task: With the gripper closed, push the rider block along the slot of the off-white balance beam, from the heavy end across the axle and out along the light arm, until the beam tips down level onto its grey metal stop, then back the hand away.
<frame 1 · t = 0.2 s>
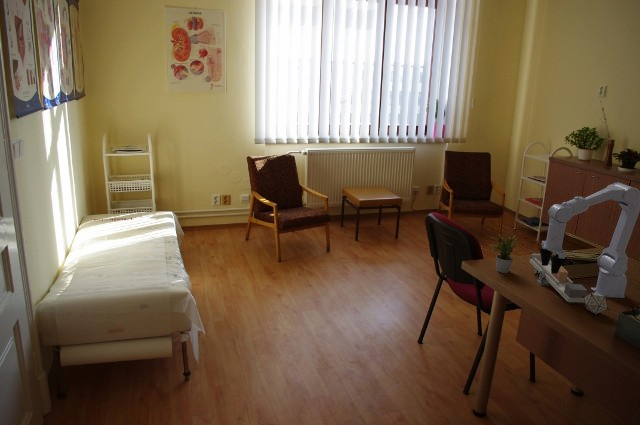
hand: (549, 269, 191), 10 cm above the table, tool pointing down, fingers open, 7 cm apart
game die: (593, 313, 179), on the table
rider: (558, 278, 198), point 4 cm above the table, tilted 5°, touching beam
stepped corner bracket: (551, 283, 203), on the table
beam: (556, 275, 199), point 5 cm above the table, hinge at -5.0°, touching rider
house plant: (502, 270, 215), on the table
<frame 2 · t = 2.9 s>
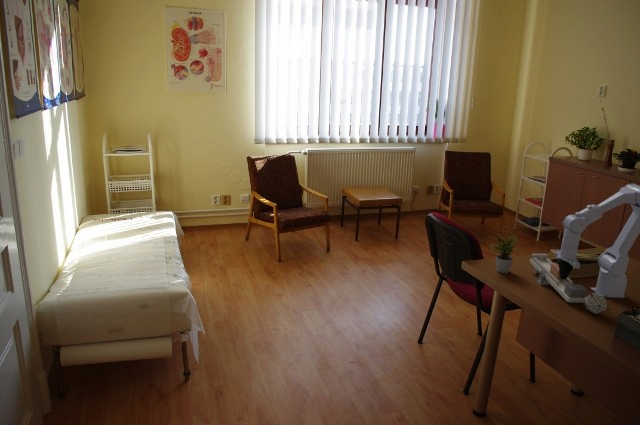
hand: (563, 278, 194), 6 cm above the table, tool pointing down, fingers closed
rider: (556, 277, 199), point 4 cm above the table, touching gripper
beam: (556, 275, 199), point 5 cm above the table, hinge at -5.0°
everything else where it was.
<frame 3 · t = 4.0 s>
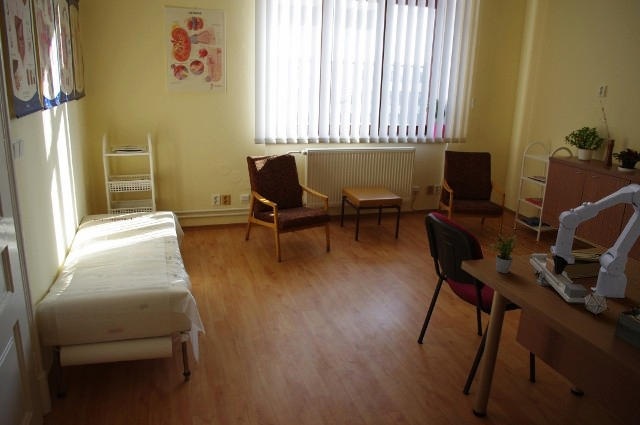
hand: (558, 273, 198), 6 cm above the table, tool pointing down, fingers closed
rider: (551, 272, 202), point 4 cm above the table, tilted 5°, touching gripper
everything else where it was.
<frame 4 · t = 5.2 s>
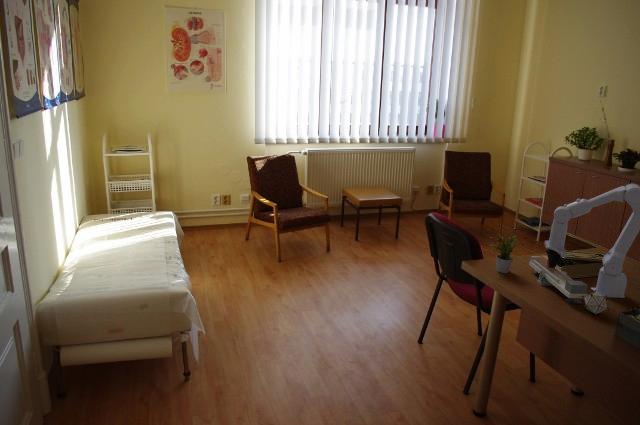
hand: (551, 267, 203), 6 cm above the table, tool pointing down, fingers closed
rider: (546, 268, 207), point 4 cm above the table, touching beam, gripper
beam: (556, 274, 199), point 5 cm above the table, hinge at 0.2°, touching rider
everything else where it was.
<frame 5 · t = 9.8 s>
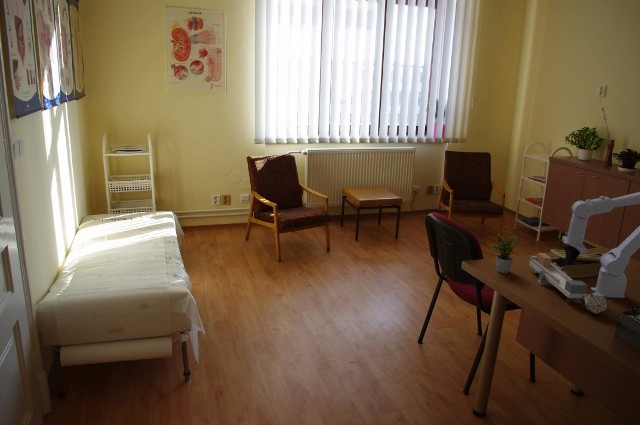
hand: (569, 264, 196), 10 cm above the table, tool pointing down, fingers closed
rider: (542, 265, 210), point 4 cm above the table, touching beam
everything else where it was.
at the end: beam at +0° (first picture: -5°); rider inside the target area on the beam (0.1 cm from its centre), point 0.8 cm above the beam's base; rider tilted 0° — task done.
